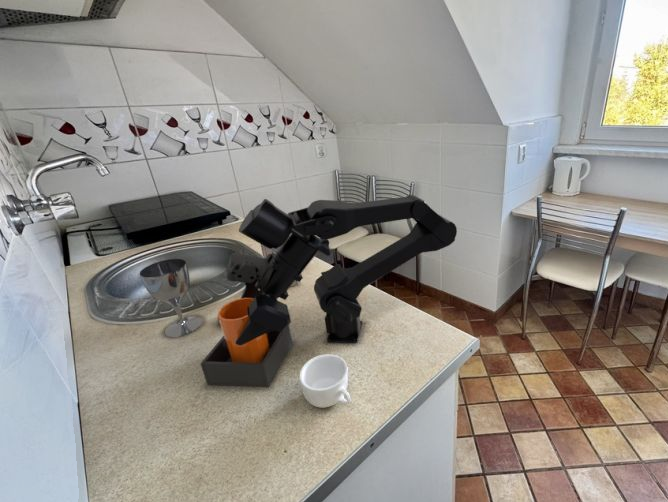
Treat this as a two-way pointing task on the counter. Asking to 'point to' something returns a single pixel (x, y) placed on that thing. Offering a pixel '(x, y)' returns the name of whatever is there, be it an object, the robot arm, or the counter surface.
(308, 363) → the teacup
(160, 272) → the wine glass
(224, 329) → the orange cup
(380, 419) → the counter surface
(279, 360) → the basket
